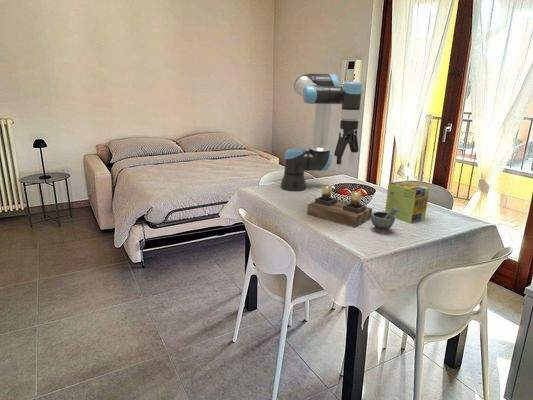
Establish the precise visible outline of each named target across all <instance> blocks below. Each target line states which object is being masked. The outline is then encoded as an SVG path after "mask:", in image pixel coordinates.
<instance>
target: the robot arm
mask: <svg viewBox="0 0 533 400" xmlns="http://www.w3.org/2000/svg"><path fill="white" fill-rule="evenodd" d="M338 77H339V76H338V75H337V74H334V73H313V72H312V73H310V72H309V73H305V74H301V75H300V76H298V77H297V78H296V79H295V81H294V85H293V87H294V91H295V92H296V94H298V95H299V96H301V97H302V100H303V103H305V104H310V105H315V109H314V121H313V122H314V123H313V130H312V131H313V133H312V143H311V145H310V146H309V148H308V150H306V148H305V147H292V148H288V149H286V151H285V154H284V170H283V171H284V175H283V177H282V180H281V181H280V182H281V183H280V188H281V189H282V190H285V191H291V192H300V191H304V190H306V189H307V181H306V178H305V171H307V172H308V171H309V172H310V171H313V172H314V171H316V172H317V171H318V172H322V171H323V172H324V171H328V170H329V169H330V167H331V165H332V161H333V156H335V157H336V158H335V159H336V160H335V161H336V163H335V172H338V173H339V172H340V173H342V172H343V168H344V167H343V166H344V156H343V155H344V152H345V150H346V148H347V146H349V150H350V151H349V155H348V165H347V166H348V167H350V168H355V166H356V157H357V153H359V141H358V129H359V119H360V110H361V99H362V93H363V90H362V88H363V85H362V83H361V82H359V81H344V83H343V86H341V85H340V81H339V78H338ZM332 105H341V111H340V114H341V115H340V119H341V120H340V122H339V123H340V125H339V129H341V130H342V131H341V132H339V133H338V139H337V144H336V147H335V150H334V152H333V153H334V155H333V153H332V151H331V150H330V147H329V146H328V141H329V134H330V133H329V132H330V125H331V124H330V122H331V116H332V115H331V113H332Z"/></svg>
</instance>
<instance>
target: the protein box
mask: <svg viewBox="0 0 533 400" xmlns="http://www.w3.org/2000/svg"><path fill="white" fill-rule="evenodd" d="M430 190H431V189H430V187H428V186H424V185H420V184H417V183H412V182H408V181H405V180H401V181H394V182H389V183H388V187H387V193H386V194H387V195H386V200H385V201H386V202H385V207H384V208H385V209H384V212H387V213H389V212H390V211H391V209H392V207H393V206H395V207H397V208H398V209H399V211H398V212H396V214H395V215H394V216H395V219H398V220H401V221H405V222H407V223H409V224H413V223H417V222H420V221H424V220H425V219H426V213H427V207H428V200H429V193H430Z"/></svg>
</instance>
